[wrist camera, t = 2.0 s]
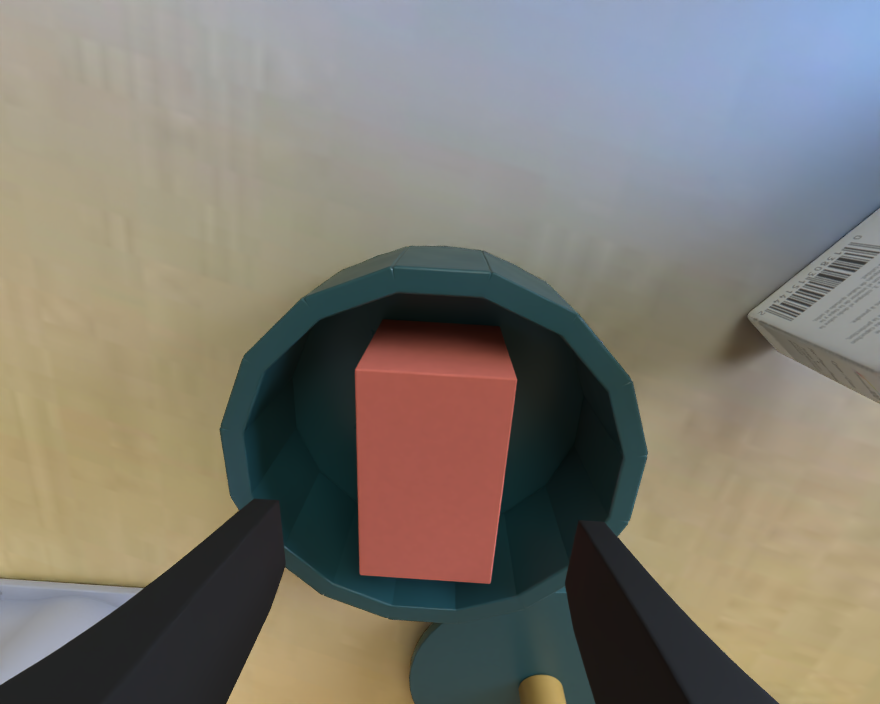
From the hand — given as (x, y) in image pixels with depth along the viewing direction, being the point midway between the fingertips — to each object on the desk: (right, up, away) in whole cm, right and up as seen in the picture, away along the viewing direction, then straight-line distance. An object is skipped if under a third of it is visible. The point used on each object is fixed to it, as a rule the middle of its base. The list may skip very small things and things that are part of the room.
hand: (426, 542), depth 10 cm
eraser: (0, +2, +6) cm, 6 cm away
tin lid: (+5, -12, +11) cm, 17 cm away
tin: (0, +3, +7) cm, 7 cm away
